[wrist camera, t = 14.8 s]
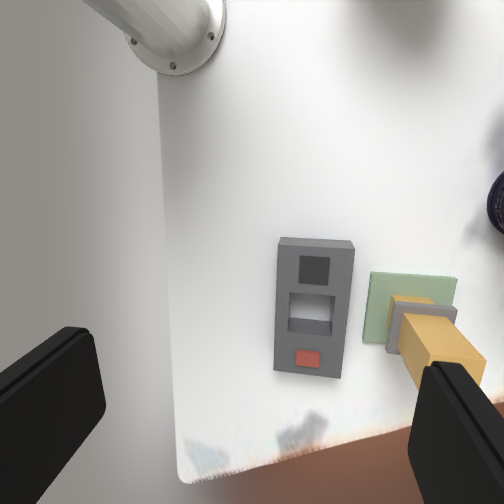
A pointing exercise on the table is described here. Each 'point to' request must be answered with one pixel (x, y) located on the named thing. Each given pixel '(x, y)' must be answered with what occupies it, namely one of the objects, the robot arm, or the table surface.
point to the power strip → (319, 283)
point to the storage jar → (497, 203)
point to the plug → (428, 337)
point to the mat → (405, 285)
